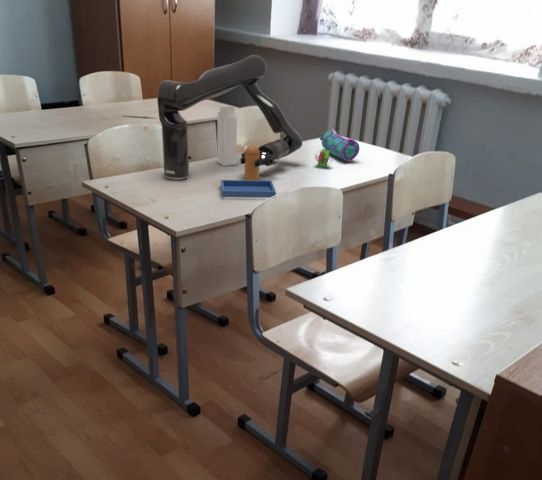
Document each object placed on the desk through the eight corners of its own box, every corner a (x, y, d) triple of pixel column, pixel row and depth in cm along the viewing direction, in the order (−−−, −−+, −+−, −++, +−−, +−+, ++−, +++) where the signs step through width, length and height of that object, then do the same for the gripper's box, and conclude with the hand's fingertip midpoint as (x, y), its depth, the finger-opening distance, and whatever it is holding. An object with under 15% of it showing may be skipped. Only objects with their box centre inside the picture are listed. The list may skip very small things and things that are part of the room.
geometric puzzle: (325, 156, 251) (319, 142, 245) (337, 160, 247) (332, 146, 241) (315, 169, 250) (309, 155, 243) (328, 173, 246) (322, 159, 240)
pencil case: (318, 150, 268) (320, 128, 263) (335, 149, 271) (337, 127, 266) (341, 163, 252) (344, 139, 247) (359, 161, 255) (362, 138, 250)
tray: (220, 187, 217) (220, 179, 215) (271, 188, 219) (271, 180, 217) (222, 198, 206) (222, 190, 205) (275, 199, 208) (275, 191, 207)
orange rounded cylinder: (243, 178, 226) (244, 143, 219) (258, 178, 226) (259, 144, 219) (245, 182, 221) (245, 147, 214) (259, 182, 222) (260, 148, 215)
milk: (217, 162, 244) (216, 105, 232) (230, 160, 246) (231, 104, 235) (223, 166, 240) (222, 108, 228) (236, 164, 242) (237, 107, 230)
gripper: (286, 165, 230) (265, 176, 217) (254, 159, 235) (231, 169, 223) (287, 146, 226) (266, 155, 213) (254, 139, 231) (231, 149, 219)
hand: (248, 162), depth 218 cm, fingers closed on orange rounded cylinder, 5 cm apart
